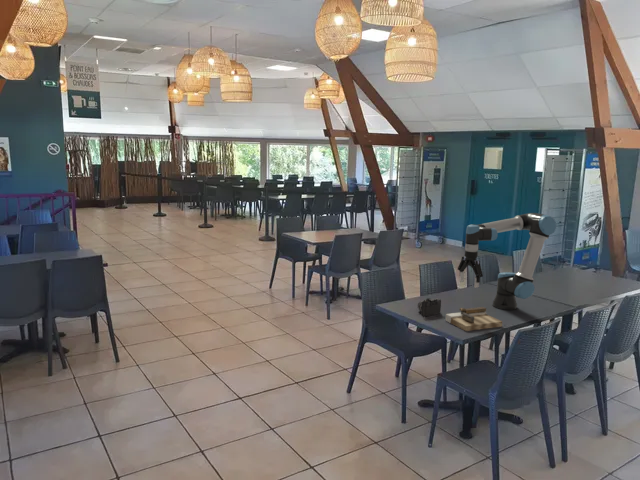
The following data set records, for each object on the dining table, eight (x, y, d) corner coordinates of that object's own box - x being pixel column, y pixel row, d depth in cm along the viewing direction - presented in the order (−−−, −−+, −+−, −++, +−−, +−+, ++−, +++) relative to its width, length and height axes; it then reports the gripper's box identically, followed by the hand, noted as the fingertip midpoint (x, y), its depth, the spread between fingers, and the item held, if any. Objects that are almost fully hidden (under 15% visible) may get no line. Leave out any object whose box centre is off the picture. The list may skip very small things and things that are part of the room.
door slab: (485, 318, 309) (486, 314, 309) (502, 326, 296) (502, 321, 296) (450, 323, 299) (451, 318, 299) (465, 331, 286) (466, 326, 286)
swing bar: (461, 314, 302) (462, 309, 302) (458, 312, 305) (458, 308, 305) (486, 311, 309) (486, 307, 309) (482, 309, 312) (482, 305, 312)
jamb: (480, 316, 314) (481, 307, 313) (485, 318, 309) (486, 309, 308) (445, 320, 304) (446, 311, 303) (450, 323, 299) (451, 313, 298)
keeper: (464, 318, 299) (465, 312, 298) (473, 323, 292) (474, 317, 291) (462, 318, 298) (462, 313, 298) (471, 323, 291) (471, 317, 290)
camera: (429, 308, 326) (430, 294, 324) (442, 313, 317) (443, 298, 315) (413, 312, 318) (414, 296, 316) (425, 317, 309) (426, 301, 307)
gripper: (453, 247, 316) (451, 280, 320) (480, 255, 293) (478, 290, 297) (462, 246, 319) (460, 279, 323) (490, 254, 296) (488, 289, 300)
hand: (468, 284), depth 310 cm, fingers open, 13 cm apart
